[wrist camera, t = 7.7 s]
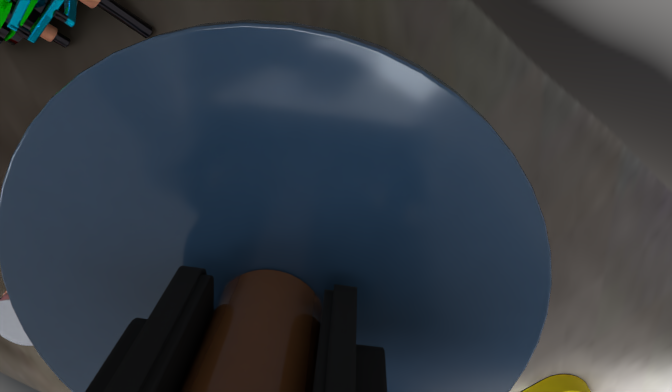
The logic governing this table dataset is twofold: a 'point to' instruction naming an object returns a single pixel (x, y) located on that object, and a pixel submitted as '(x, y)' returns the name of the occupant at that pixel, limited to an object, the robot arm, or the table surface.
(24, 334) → the pill bottle
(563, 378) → the crank
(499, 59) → the table surface
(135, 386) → the robot arm
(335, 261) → the canister lid
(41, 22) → the stick construction toy
